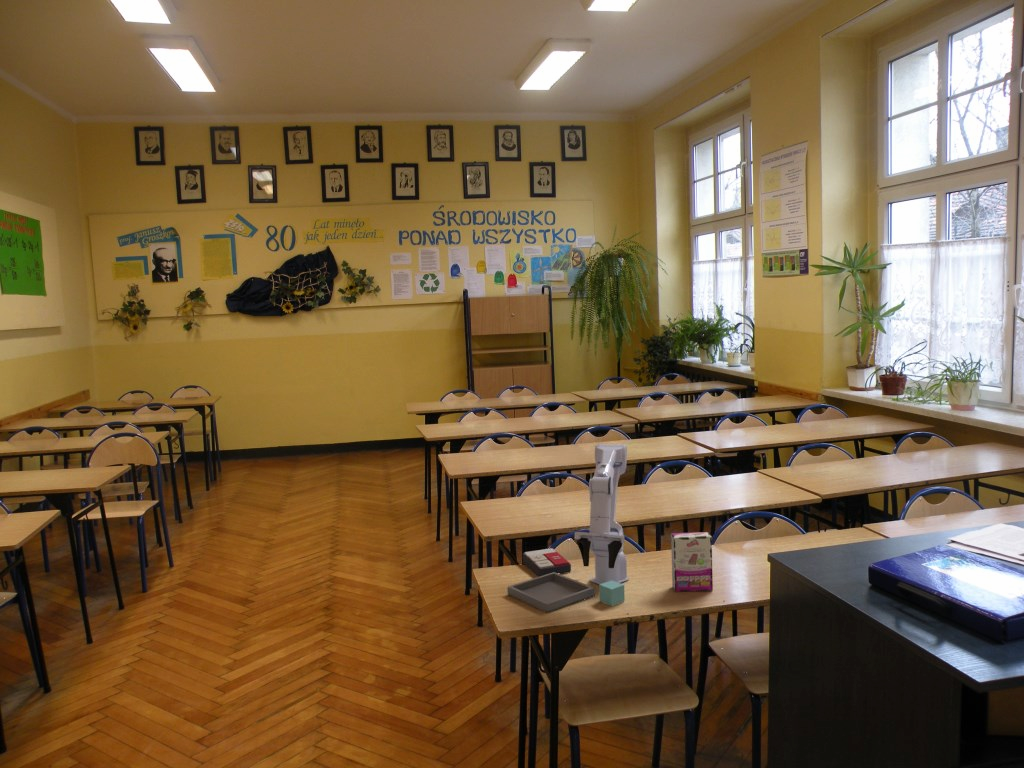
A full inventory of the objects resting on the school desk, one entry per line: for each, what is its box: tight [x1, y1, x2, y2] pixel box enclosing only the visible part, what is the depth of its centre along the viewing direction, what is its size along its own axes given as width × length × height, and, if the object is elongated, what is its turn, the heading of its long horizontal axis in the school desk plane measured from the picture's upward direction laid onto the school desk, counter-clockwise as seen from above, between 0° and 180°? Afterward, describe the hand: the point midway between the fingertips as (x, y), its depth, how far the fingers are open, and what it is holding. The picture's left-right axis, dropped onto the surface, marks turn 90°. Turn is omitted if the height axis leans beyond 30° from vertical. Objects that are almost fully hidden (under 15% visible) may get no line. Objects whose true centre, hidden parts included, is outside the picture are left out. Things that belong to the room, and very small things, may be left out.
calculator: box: [522, 548, 572, 577], centre depth 248 cm, size 11×4×15 cm
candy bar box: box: [670, 531, 714, 593], centre depth 225 cm, size 11×5×16 cm, turn 89°
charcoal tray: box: [507, 572, 596, 614], centre depth 224 cm, size 18×18×2 cm
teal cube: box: [598, 580, 626, 607], centre depth 218 cm, size 5×5×5 cm
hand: (598, 567), depth 215 cm, fingers open, 7 cm apart
